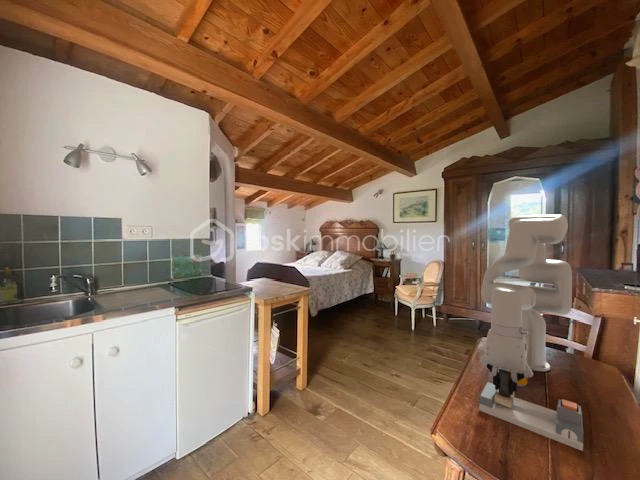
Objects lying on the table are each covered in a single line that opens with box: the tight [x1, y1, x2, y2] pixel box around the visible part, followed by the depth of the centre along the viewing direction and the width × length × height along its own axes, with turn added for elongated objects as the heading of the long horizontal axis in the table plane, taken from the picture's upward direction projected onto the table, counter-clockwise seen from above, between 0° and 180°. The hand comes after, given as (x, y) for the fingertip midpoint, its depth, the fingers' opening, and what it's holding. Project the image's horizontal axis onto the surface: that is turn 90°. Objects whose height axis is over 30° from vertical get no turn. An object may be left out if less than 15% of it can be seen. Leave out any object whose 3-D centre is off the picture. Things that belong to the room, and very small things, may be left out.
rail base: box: [478, 381, 584, 452], centre depth 76 cm, size 12×22×7 cm, turn 47°
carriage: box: [494, 368, 515, 408], centre depth 80 cm, size 7×4×9 cm, turn 137°
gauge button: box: [561, 398, 578, 412], centre depth 71 cm, size 3×3×4 cm
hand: (504, 389), depth 80 cm, fingers closed on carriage, 3 cm apart
